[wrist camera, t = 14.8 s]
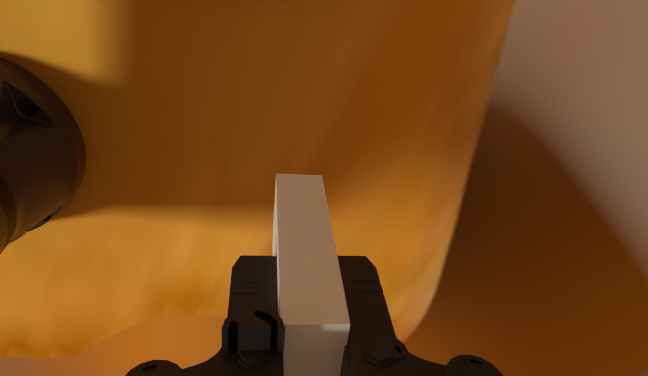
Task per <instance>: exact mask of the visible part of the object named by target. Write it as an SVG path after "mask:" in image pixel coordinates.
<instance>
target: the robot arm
mask: <svg viewBox="0 0 648 376" xmlns="http://www.w3.org/2000/svg"><path fill="white" fill-rule="evenodd" d="M84 169H85V149H84V143H83V139H82V136H81V133H80V131H79V128H78V126H77V124H76V122H75V120H74V118H73V116H72V115H71V113H70V112H69V110H68V109H67V107H66V106H65V105H64V103H63V102H62V101H61V100H60V99H59V98H58V96H57V95H56V94H55V93H54V92H53V91H52V90H51V89H50V88H48V87H47V86H46V85H45V84H44V83H43V82H41V81H40V80H39V79H37V78H36V77H35V76H33V75H32V74H30V73H29V72H27V71H26V70H24V69H22V68H20V67H19V66H17V65H15V64H13V63H11V62H8V61H6V60H4V59H1V58H0V254H1V253H2V251H3V250H4V249H5V247H6V246H7V245H8V244H9V243H11V242H13V241H15V240H17V239H18V238H20V237H22V236H23V235H24V234H26V232H28V231H31V230H34V229H36V228H38V227H40V226H42V225H44V224H45V223H47V222H49V221H50V220H52V219H53V218H54V217H55V216H56V215H58V214H59V213H60V212H61V211H62V210H63V209H64V208H65V206H66V205H67V204H68V202H69V201H70V199H71V198H72V196H73V195H74V193H75V192H76V190H77V189H78V187H79V185H80V183H81V180H82V177H83V174H84ZM125 376H503V375H502V374H501V372H500V371H499V370H498V369H496V368H495V366H494V365H493V364H491V363H490V362H488V361H486V360H484V359H482V358H481V357H477V356H473V355H458V356H456V357H454V358H452V359H451V360H450V361H449V362H448V364H447V365H446V366H445V365H442V364H438V363H434V362H430V361H426V360H424V359H421V358H418V357H416V356H414V355H413V354H411V353H409V352H408V351H407V349H406V347H405V345H404V344H403V343H402V342H401V341H399V340H398V339H397V337H396V335H395V332H394V329H393V325H392V322H391V318H390V315H389V311H388V308H387V304H386V301H385V297H384V295H383V290H382V287H381V284H380V280H379V276H378V273H377V269H376V267H375V266H374V265H373V264H372V263H371V262H370V261H369V259H368V258H367V257H366V256H337V252H336V246H335V241H334V236H333V230H332V225H331V220H330V215H329V209H328V204H327V199H326V194H325V188H324V183H323V178H322V175H306V174H279V173H276V185H275V204H274V223H273V256H240V257H239V259H238V260H237V262H236V263H235V264H234V266H233V267H232V274H231V285H230V296H229V307H228V317H227V318H226V319H225V321H224V324H223V327H222V347H221V349H220V351H219V352H218V353H217V354H216V355H215V356H213V357H212V358H210V359H209V360H207V361H205V362H203V363H201V364H198V365H195V366H192V367H188V368H185V369H181V368H180V367H179V366H178V365H177V364H175V363H172V362H170V361H167V360H152V361H148V362H145V363H141V364H139V365H138V366H136V367H135V368H133V369H131V370H130V371H129V372H128V373H127V374H126V375H125Z"/></svg>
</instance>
